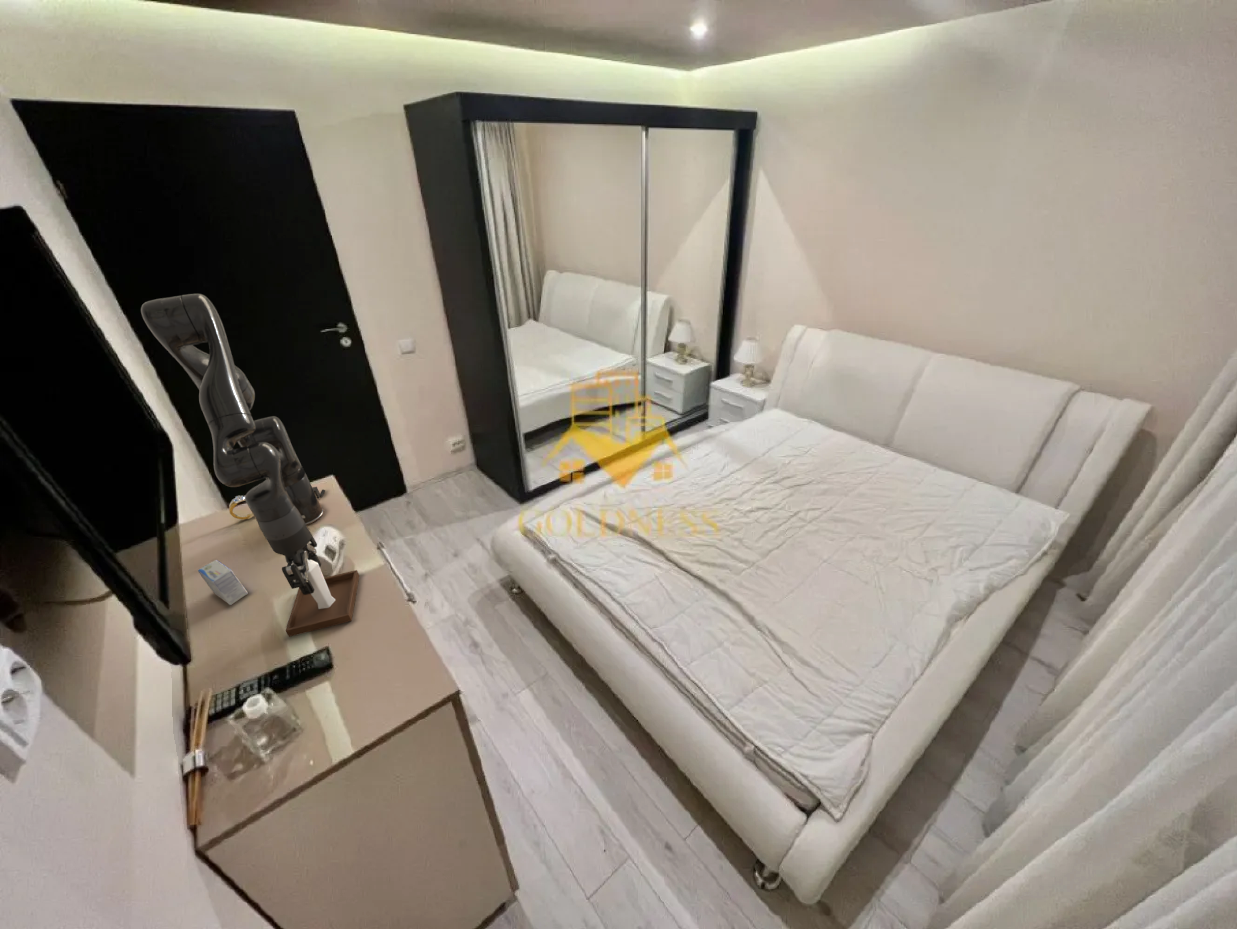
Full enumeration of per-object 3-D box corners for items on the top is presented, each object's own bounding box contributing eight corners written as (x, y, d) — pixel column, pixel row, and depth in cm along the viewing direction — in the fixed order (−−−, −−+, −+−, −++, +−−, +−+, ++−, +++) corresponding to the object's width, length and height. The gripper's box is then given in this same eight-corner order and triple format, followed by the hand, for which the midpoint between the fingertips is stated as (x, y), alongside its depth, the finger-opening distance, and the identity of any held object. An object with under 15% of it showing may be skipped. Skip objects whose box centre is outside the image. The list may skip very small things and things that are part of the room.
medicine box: (249, 594, 121) (232, 569, 116) (229, 606, 117) (212, 581, 113) (233, 582, 124) (216, 558, 119) (214, 594, 121) (196, 570, 116)
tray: (303, 589, 121) (300, 583, 120) (359, 575, 124) (356, 569, 123) (289, 637, 109) (285, 631, 108) (351, 620, 112) (348, 614, 111)
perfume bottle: (311, 606, 116) (285, 561, 107) (327, 594, 119) (303, 549, 111) (323, 613, 114) (297, 568, 106) (339, 600, 117) (316, 555, 109)
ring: (262, 510, 149) (250, 490, 145) (263, 516, 147) (251, 495, 143) (236, 519, 146) (223, 499, 142) (236, 525, 144) (223, 504, 140)
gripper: (295, 544, 98) (325, 597, 107) (309, 504, 110) (335, 555, 119) (254, 553, 97) (288, 607, 106) (273, 511, 108) (302, 562, 117)
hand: (313, 579), depth 112 cm, fingers open, 8 cm apart
